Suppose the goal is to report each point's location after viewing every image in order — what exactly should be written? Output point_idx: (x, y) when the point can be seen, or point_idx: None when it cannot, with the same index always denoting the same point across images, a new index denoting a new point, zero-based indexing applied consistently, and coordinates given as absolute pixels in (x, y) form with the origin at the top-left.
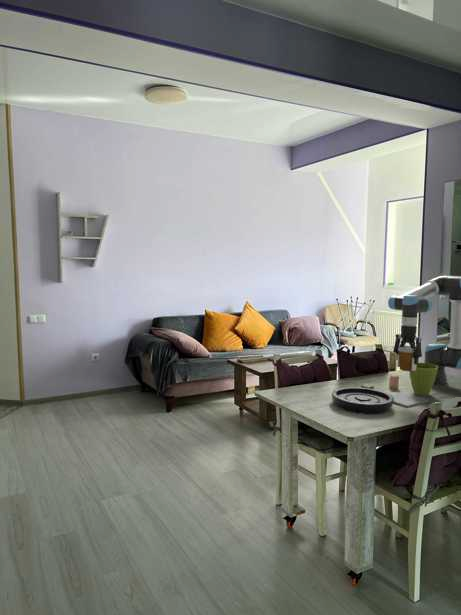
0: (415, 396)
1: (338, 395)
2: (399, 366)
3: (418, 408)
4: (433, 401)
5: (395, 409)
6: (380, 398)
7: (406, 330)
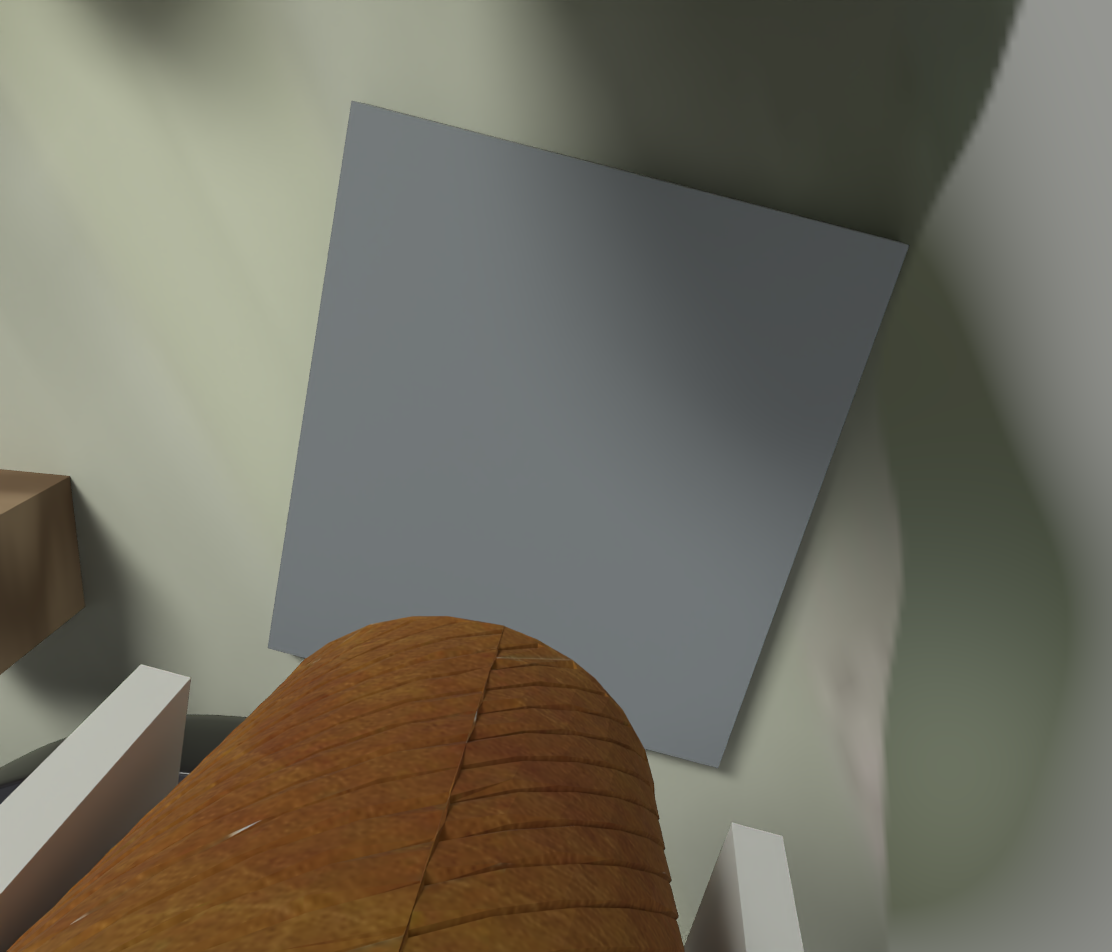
0: (636, 181)
1: None
2: (172, 784)
3: (857, 684)
4: (965, 127)
5: None
6: None
7: None
